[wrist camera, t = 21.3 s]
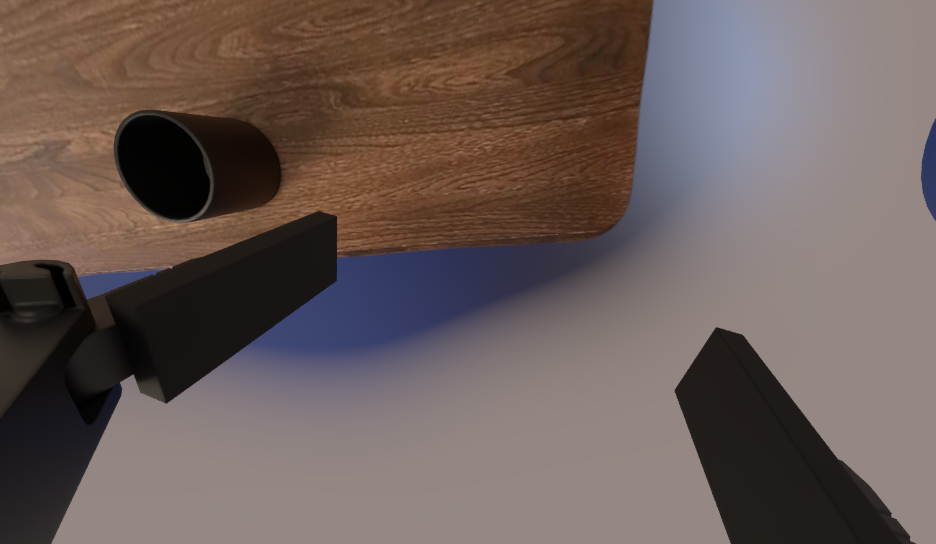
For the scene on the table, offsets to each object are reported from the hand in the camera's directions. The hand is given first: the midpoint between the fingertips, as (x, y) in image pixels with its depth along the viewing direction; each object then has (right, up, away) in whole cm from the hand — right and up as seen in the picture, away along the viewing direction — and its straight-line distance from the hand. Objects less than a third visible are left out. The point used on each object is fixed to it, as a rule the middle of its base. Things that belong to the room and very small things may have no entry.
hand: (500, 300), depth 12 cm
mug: (-27, +13, +26) cm, 40 cm away
